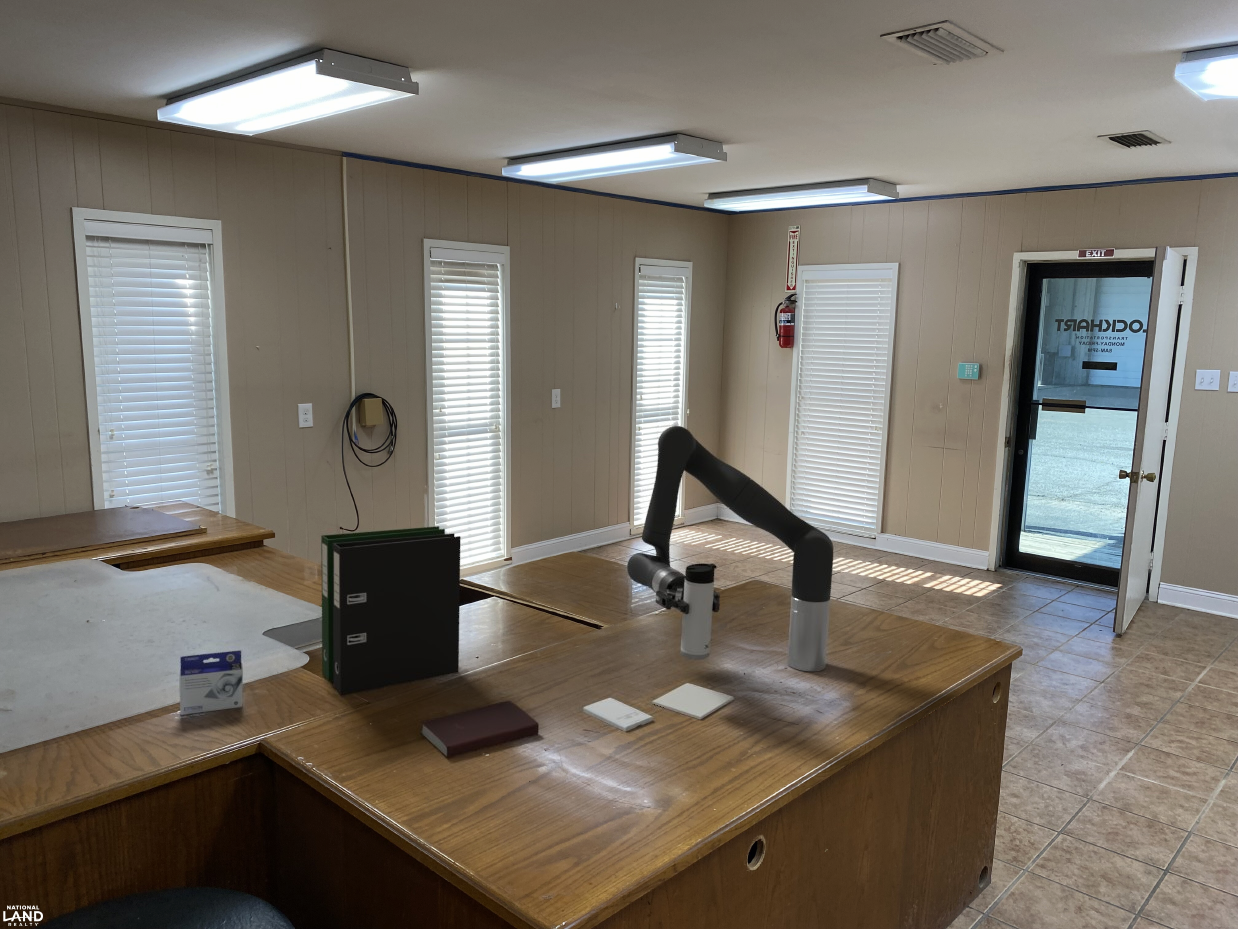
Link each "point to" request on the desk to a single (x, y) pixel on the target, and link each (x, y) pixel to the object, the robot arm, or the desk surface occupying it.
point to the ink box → (210, 682)
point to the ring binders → (389, 607)
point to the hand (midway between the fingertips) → (702, 608)
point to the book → (479, 728)
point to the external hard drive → (617, 714)
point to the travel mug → (698, 611)
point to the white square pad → (693, 700)
